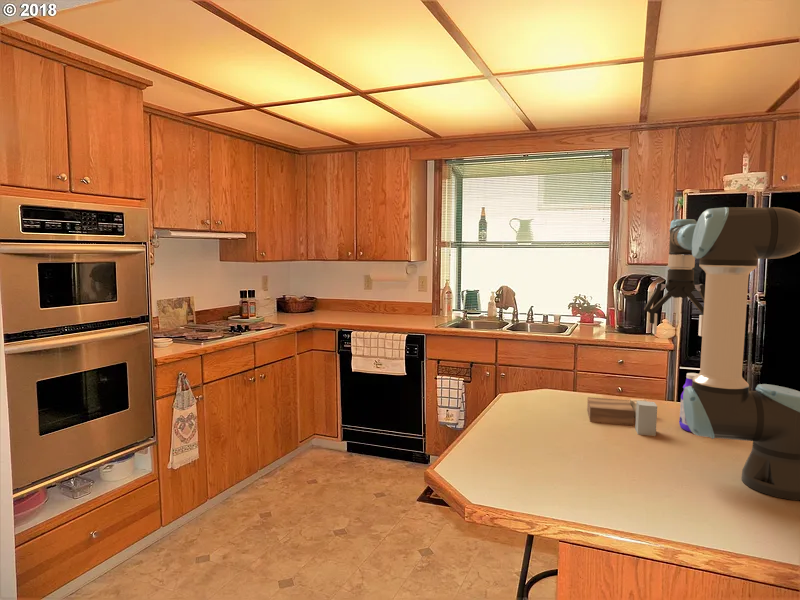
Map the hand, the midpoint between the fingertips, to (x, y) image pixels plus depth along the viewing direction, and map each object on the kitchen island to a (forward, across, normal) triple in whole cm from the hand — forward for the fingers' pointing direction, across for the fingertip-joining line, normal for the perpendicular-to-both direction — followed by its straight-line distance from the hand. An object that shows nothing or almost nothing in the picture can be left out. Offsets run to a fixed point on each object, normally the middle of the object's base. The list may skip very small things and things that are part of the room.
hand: (677, 334), depth 178 cm
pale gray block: (+28, +11, +16) cm, 34 cm away
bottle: (+28, -3, +9) cm, 30 cm away
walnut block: (+28, +20, +3) cm, 35 cm away
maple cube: (+28, +10, -2) cm, 30 cm away
